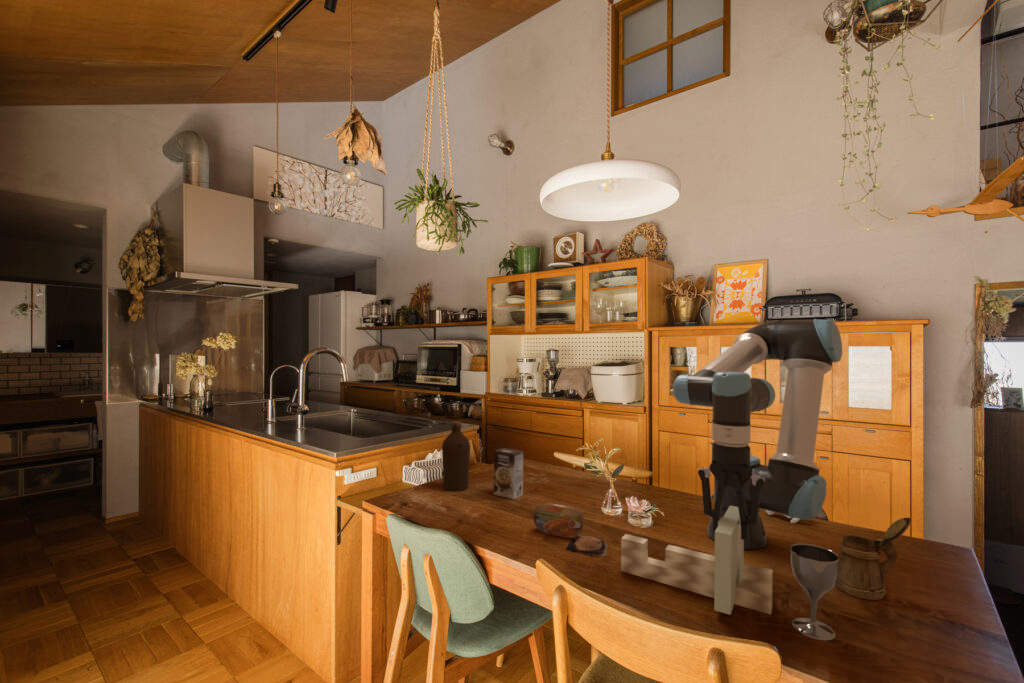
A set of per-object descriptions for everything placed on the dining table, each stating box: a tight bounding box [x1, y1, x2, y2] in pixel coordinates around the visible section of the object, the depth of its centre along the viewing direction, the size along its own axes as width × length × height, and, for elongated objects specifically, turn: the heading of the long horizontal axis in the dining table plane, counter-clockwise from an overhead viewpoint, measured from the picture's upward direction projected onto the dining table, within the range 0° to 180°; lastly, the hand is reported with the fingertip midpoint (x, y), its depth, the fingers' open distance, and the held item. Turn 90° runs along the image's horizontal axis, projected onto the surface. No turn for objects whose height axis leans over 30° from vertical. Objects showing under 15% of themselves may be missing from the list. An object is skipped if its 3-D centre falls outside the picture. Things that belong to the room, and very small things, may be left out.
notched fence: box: [620, 533, 774, 615], centre depth 106 cm, size 32×3×8 cm, turn 56°
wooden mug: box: [834, 517, 912, 601], centre depth 105 cm, size 9×14×18 cm, turn 61°
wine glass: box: [789, 542, 840, 641], centre depth 91 cm, size 8×8×15 cm
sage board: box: [713, 506, 745, 616], centre depth 101 cm, size 18×3×16 cm, turn 146°
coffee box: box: [493, 447, 524, 500], centre depth 169 cm, size 9×6×16 cm
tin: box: [533, 502, 585, 539], centre depth 135 cm, size 15×3×8 cm, turn 62°
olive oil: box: [441, 420, 471, 492], centre depth 177 cm, size 11×11×25 cm
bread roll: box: [566, 535, 609, 557], centre depth 126 cm, size 11×8×4 cm
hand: (730, 550), depth 102 cm, fingers closed on sage board, 3 cm apart
